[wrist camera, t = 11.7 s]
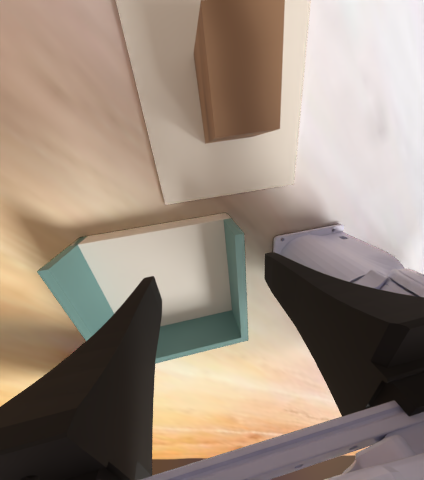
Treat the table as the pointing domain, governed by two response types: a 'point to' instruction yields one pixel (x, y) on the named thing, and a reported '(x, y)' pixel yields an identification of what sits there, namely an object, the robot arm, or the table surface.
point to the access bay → (160, 281)
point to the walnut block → (239, 67)
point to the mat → (189, 111)
